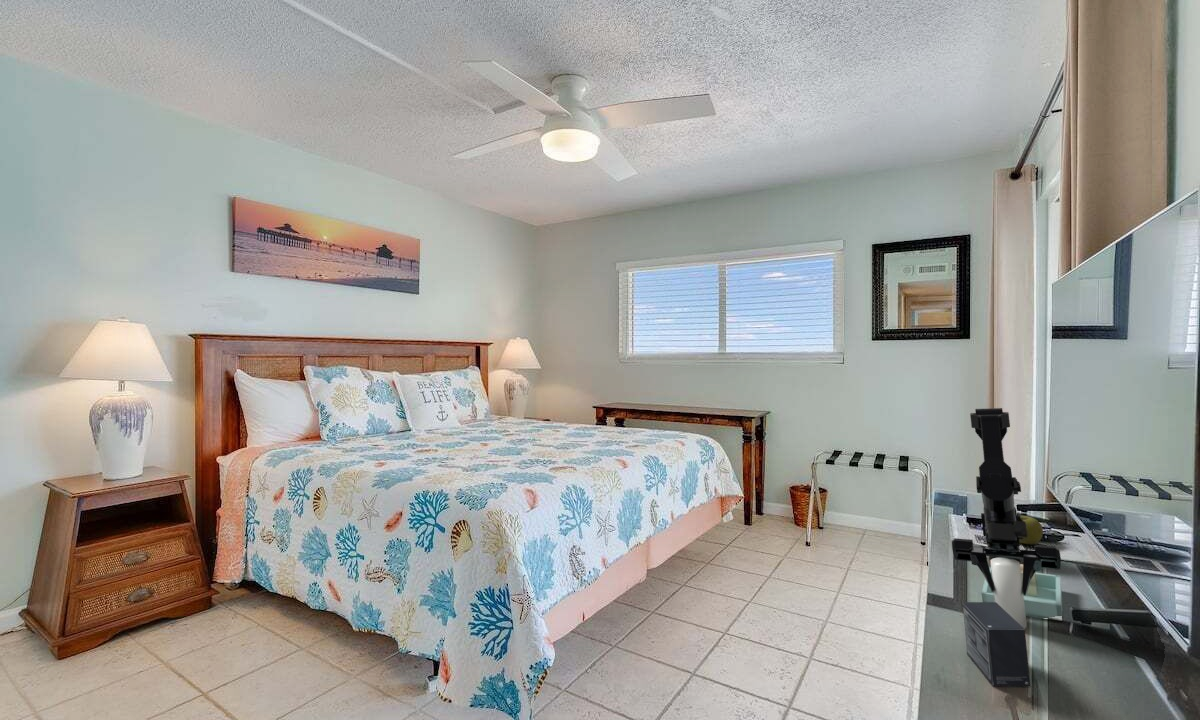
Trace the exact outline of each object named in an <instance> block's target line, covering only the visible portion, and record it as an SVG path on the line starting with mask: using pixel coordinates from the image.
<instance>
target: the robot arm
mask: <svg viewBox="0 0 1200 720" xmlns="http://www.w3.org/2000/svg"><path fill="white" fill-rule="evenodd" d="M974 409H975V412H970V414H969V415H970V423H971V424H970V425H971V428H972V429H974V431H975V433H976V434H977V436H978V438H980V439H981V442H982V451H983V462H982V463H981V464H980V465H979V466H978V473H979V474H978V476H976V477H975V478H976V479H975V481H976V482H975V483H976V485H975V486H976V492H977V494H981V498H982V504H983V512H982V513H980V517H981V525H982V527H981V528H982V535H983V537H985V541H986V544H987V545H986V546H985V545H980V544H979V545H978V544H974V541H973V539H967V538H953V539H952V541H951V548H952V549H951V550H952V554H953V558H954V560H957V561H962V562H963V561H965V562H970V563H971V565H973V566H976V567H978V569H979V571H981V573H982V575H983V576H984V580H985V579H986V581H987V583H988V585H989V587H990V589H991V591H992V592H994V587H993V581H992V577H991V573H990V569H989V567H990V565H989V561H991V559H993V558H1010V559H1014V560H1016V561H1018V562H1019V563H1020V564H1021V560H1022V561H1023V562H1022V564H1023V584H1022V587H1023V595H1024V596H1026V594H1027V590H1028V587H1029V584H1030V581H1031V579H1032V577H1033V575H1034V573H1035V572H1036V573H1037V572H1042V569H1045V570H1047V569H1048V570H1061V564H1062V562H1061V561H1062V558H1061V551H1060V549H1059V548H1058V547H1057V546H1055V545H1045V544H1044V545H1042V544H1034V550H1031V549H1020V547H1021V543H1020V542H1019V539H1023V538H1027V529H1026V522H1024V521H1023V520H1022V519H1021V518H1020V516H1021V515H1020V514H1019V515H1018V514H1017V508H1016V506H1015V497H1014V496H1015V495H1019V493H1022V488H1021V487H1022V486H1021V483H1020V481H1018V479H1017V477H1013V474H1012V468H1011V466H1010V465H1009V464H1007V462H1006V461H1005V458H1004V449H1003V443H1002V442H1003V440H1004V438H1005V436H1006V435H1007V432H1008V428H1010V427H1011V421H1010V413H1009V411H1003V408H1002V407H997V408H996V407H994V408H974ZM988 560H989V561H988Z"/></svg>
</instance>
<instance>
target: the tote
mask: <svg viewBox="0 0 1200 720" xmlns="http://www.w3.org/2000/svg"><path fill="white" fill-rule="evenodd" d="M989 569H990V573H991V577H992V570H991V566H989ZM1036 580H1037V596H1032V595H1026V596H1024V595H1023V596H1024V605H1025V614H1026V617H1030V618H1035V619H1041V618H1049V617H1055V616H1062V611H1063V592H1062V591H1063V590H1062V579H1061V575H1057V574H1049V573H1041V572H1036ZM992 581H993V579H992ZM981 602H995V597H994V592H992V591H991V589H990V587H989V585H988V583H987V581H986V579H985V578H984V581H983V586H982V589H981Z"/></svg>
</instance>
